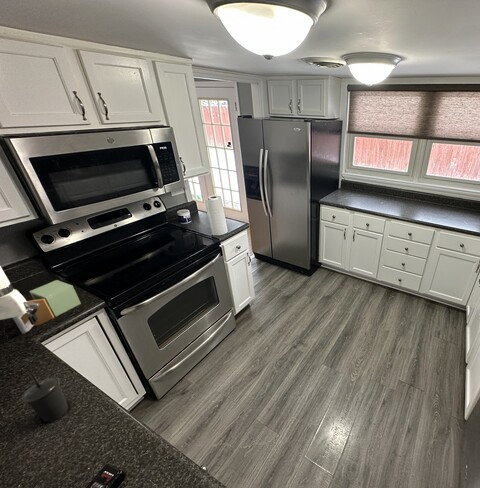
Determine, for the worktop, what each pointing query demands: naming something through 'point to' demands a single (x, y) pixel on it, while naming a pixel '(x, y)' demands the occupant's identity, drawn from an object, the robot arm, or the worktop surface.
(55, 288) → the cupboard
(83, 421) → the worktop surface
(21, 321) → the door
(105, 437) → the worktop surface
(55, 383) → the drinking cup
